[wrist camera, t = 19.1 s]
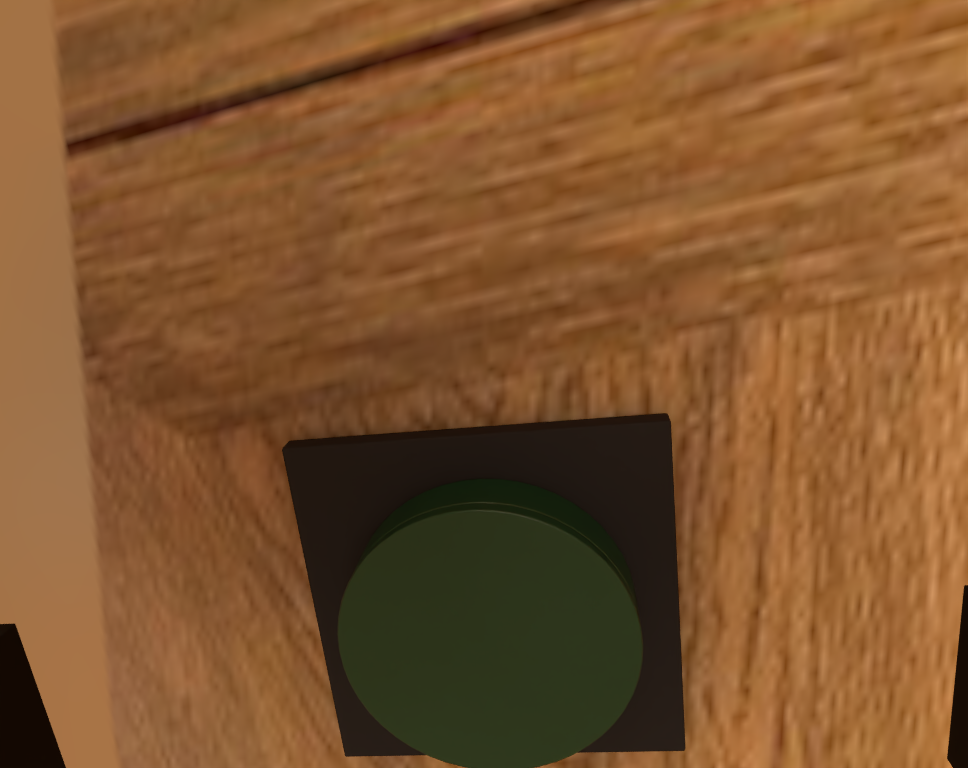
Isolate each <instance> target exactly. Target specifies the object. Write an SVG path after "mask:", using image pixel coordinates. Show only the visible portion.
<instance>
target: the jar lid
mask: <svg viewBox="0 0 968 768" xmlns="http://www.w3.org/2000/svg"><path fill="white" fill-rule="evenodd" d="M338 643H339V652H340V655H341V659H342V663H343V667H344V670H345V672H346V675H347V677H348V680H349V682H350V684H351V686H352V688H353V689H354V691H355V693H356V695H357V696H358V698H359V700H360V701H361V702H362V704H363V705H364V706H365V708H366V709H367V710H368V711H369V713H370V714H371V715H372V716H373V717H374V718H375V719H376V720H377V721H378V722H379V723H380V724H381V725H382V726H383V727H384V728H385V729H387V730H388V731H389V732H390V733H392V734H393V735H394V736H395V737H397V738H398V739H400V740H401V741H403V742H404V743H406V744H407V745H409V746H410V747H412V748H414V749H416V750H418V751H420V752H422V753H424V754H426V755H428V756H430V757H433V758H436V759H438V760H441V761H444V762H447V763H450V764H454V765H458V766H462V767H466V768H535V767H540V766H543V765H547V764H550V763H554V762H557V761H559V760H562V759H564V758H567V757H569V756H571V755H573V754H575V753H577V752H579V751H581V750H582V749H584V748H586V747H588V746H589V745H590V744H592V743H593V742H594V741H596V740H597V739H598V738H600V737H601V736H602V735H603V734H604V733H605V732H606V731H607V730H608V729H609V728H610V727H611V726H612V725H613V724H614V723H615V722H616V721H617V719H618V718H619V717H620V716H621V714H622V713H623V712H624V710H625V709H626V707H627V705H628V703H629V701H630V699H631V698H632V696H633V694H634V691H635V688H636V686H637V683H638V680H639V677H640V672H641V666H642V661H643V639H642V631H641V624H640V618H639V611H638V605H637V599H636V593H635V587H634V584H633V580H632V577H631V573H630V570H629V568H628V566H627V563H626V561H625V559H624V557H623V555H622V553H621V551H620V550H619V548H618V547H617V545H616V543H615V542H614V540H613V539H612V538H611V537H610V535H609V534H608V533H607V532H606V531H605V530H604V528H603V527H602V526H601V525H600V524H599V523H598V522H597V521H595V520H594V519H593V518H592V517H591V516H590V515H589V514H588V513H586V512H585V511H584V510H582V509H581V508H579V507H578V506H576V505H575V504H574V503H572V502H570V501H568V500H567V499H565V498H563V497H561V496H559V495H557V494H555V493H553V492H550V491H548V490H545V489H543V488H540V487H537V486H534V485H530V484H526V483H522V482H518V481H510V480H503V479H473V480H464V481H458V482H453V483H449V484H445V485H441V486H439V487H436V488H433V489H431V490H428V491H425V492H423V493H421V494H420V495H418V496H416V497H414V498H412V499H410V500H408V501H407V502H406V503H404V504H403V505H402V506H400V507H399V508H398V509H396V510H395V511H394V512H393V513H392V514H391V515H390V516H389V517H388V518H386V519H385V520H384V521H383V522H382V524H381V525H380V526H379V528H378V529H377V530H376V531H375V533H374V534H373V535H372V537H371V539H370V541H369V543H368V544H367V546H366V548H365V550H364V552H363V554H362V556H361V558H360V560H359V562H358V564H357V566H356V568H355V570H354V572H353V574H352V577H351V578H350V580H349V582H348V585H347V587H346V590H345V593H344V595H343V598H342V601H341V606H340V611H339V616H338Z"/></svg>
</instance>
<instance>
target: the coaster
mask: <svg viewBox="0 0 968 768" xmlns="http://www.w3.org/2000/svg"><path fill="white" fill-rule="evenodd" d="M282 451H283V456H284V461H285V466H286V471H287V476H288V481H289V485H290V490H291V495H292V500H293V505H294V510H295V515H296V519H297V524H298V529H299V534H300V539H301V544H302V549H303V553H304V558H305V563H306V568H307V573H308V578H309V583H310V587H311V592H312V597H313V602H314V607H315V612H316V617H317V621H318V626H319V631H320V636H321V641H322V646H323V651H324V655H325V660H326V665H327V670H328V675H329V680H330V684H331V689H332V694H333V699H334V704H335V709H336V714H337V718H338V723H339V728H340V733H341V738H342V743H343V748H344V752H345V756H404V755H426V754H424V753H422V752H420V751H418V750H416V749H414V748H412V747H410V746H409V745H407V744H406V743H404V742H403V741H401V740H400V739H398V738H397V737H395V736H394V735H393V734H392V733H390V732H389V731H388V730H387V729H385V728H384V727H383V726H382V725H381V724H380V723H379V722H378V721H377V720H376V719H375V718H374V717H373V716H372V715H371V714H370V713H369V711H368V710H367V709H366V708H365V706H364V705H363V704H362V702H361V701H360V700H359V698H358V696H357V695H356V693H355V691H354V689H353V688H352V686H351V684H350V682H349V680H348V677H347V675H346V672H345V670H344V667H343V663H342V659H341V655H340V652H339V643H338V616H339V611H340V606H341V601H342V598H343V595H344V593H345V590H346V587H347V585H348V582H349V580H350V578H351V577H352V574H353V572H354V570H355V568H356V566H357V564H358V562H359V560H360V558H361V556H362V554H363V552H364V550H365V548H366V546H367V544H368V543H369V541H370V539H371V537H372V535H373V534H374V533H375V531H376V530H377V529H378V528H379V526H380V525H381V524H382V522H383V521H384V520H385V519H386V518H388V517H389V516H390V515H391V514H392V513H393V512H394V511H395V510H396V509H398V508H399V507H400V506H402V505H403V504H404V503H406V502H407V501H408V500H410V499H412V498H414V497H416V496H418V495H420V494H421V493H423V492H425V491H428V490H431V489H433V488H436V487H439V486H441V485H445V484H449V483H453V482H458V481H464V480H473V479H503V480H510V481H518V482H522V483H526V484H530V485H534V486H537V487H540V488H543V489H545V490H548V491H550V492H553V493H555V494H557V495H559V496H561V497H563V498H565V499H567V500H568V501H570V502H572V503H574V504H575V505H576V506H578V507H579V508H581V509H582V510H584V511H585V512H586V513H588V514H589V515H590V516H591V517H592V518H593V519H594V520H595V521H597V522H598V523H599V524H600V525H601V526H602V527H603V528H604V530H605V531H606V532H607V533H608V534H609V535H610V537H611V538H612V539H613V540H614V542H615V543H616V545H617V547H618V548H619V550H620V551H621V553H622V555H623V557H624V559H625V561H626V563H627V566H628V568H629V570H630V573H631V577H632V580H633V584H634V587H635V593H636V599H637V605H638V611H639V618H640V624H641V631H642V639H643V661H642V666H641V672H640V677H639V680H638V683H637V686H636V688H635V691H634V694H633V696H632V698H631V699H630V701H629V703H628V705H627V707H626V709H625V710H624V712H623V713H622V714H621V716H620V717H619V718H618V719H617V721H616V722H615V723H614V724H613V725H612V726H611V727H610V728H609V729H608V730H607V731H606V732H605V733H604V734H603V735H602V736H601V737H600V738H598V739H597V740H596V741H594V742H593V743H592V744H590V745H589V746H588V747H586V748H584V749H582V750H581V751H579V752H577V753H580V752H639V751H684V750H685V729H684V707H683V684H682V662H681V639H680V617H679V594H678V572H677V550H676V527H675V505H674V482H673V460H672V437H671V421H670V419H669V416H668V414H652V415H639V416H625V417H611V418H597V419H584V420H570V421H556V422H543V423H529V424H515V425H501V426H488V427H474V428H460V429H446V430H433V431H419V432H405V433H391V434H378V435H364V436H350V437H337V438H323V439H309V440H295V441H289V442H288V443H287V444H286V445H285V446H284V447H283V449H282Z"/></svg>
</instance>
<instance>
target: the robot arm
mask: <svg viewBox="0 0 968 768" xmlns="http://www.w3.org/2000/svg"><path fill="white" fill-rule="evenodd" d="M947 759H948V761H949V762H950V764H951V765H952V767H953V768H968V585H964V594H963V604H962V614H961V624H960V634H959V645H958V655H957V665H956V675H955V685H954V695H953V705H952V715H951V725H950V736H949V746H948V756H947ZM0 768H66V767H65V764H64V761H63V758H62V755H61V752H60V750H59V747H58V744H57V741H56V738H55V735H54V733H53V730H52V727H51V724H50V722H49V718H48V716H47V713H46V710H45V707H44V705H43V702H42V699H41V696H40V693H39V690H38V688H37V684H36V682H35V679H34V676H33V673H32V671H31V667H30V665H29V662H28V659H27V656H26V654H25V651H24V648H23V645H22V642H21V639H20V637H19V634H18V631H17V628H16V625H15V624H0Z"/></svg>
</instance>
